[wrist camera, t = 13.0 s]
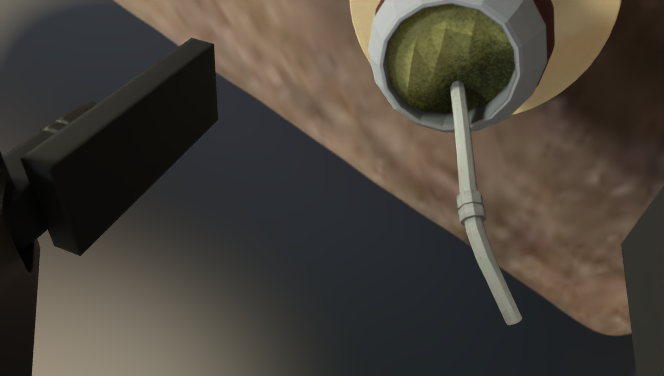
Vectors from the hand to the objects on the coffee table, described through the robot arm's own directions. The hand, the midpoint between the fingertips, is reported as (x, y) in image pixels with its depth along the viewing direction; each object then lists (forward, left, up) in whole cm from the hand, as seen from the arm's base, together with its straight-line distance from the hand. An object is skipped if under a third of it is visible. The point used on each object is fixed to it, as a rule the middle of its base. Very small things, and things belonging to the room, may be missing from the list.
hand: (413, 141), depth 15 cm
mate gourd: (0, +1, -13) cm, 13 cm away
